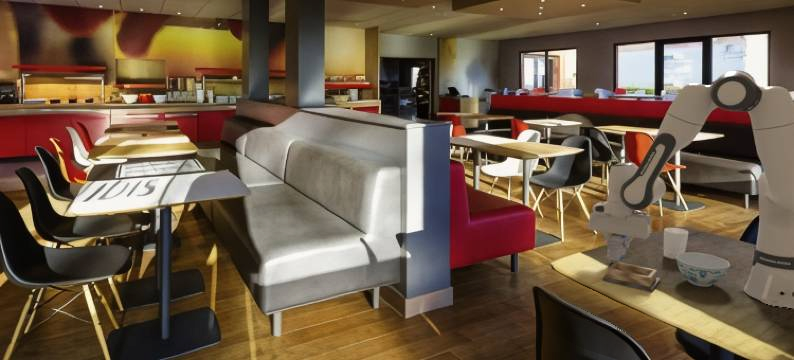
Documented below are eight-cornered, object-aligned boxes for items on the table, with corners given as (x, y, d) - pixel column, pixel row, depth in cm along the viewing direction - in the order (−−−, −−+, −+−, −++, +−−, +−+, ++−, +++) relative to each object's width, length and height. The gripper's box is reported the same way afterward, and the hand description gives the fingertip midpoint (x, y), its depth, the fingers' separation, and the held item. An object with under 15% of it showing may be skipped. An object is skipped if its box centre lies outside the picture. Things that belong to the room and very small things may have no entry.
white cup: (689, 260, 191) (692, 233, 189) (667, 260, 191) (670, 233, 189) (678, 252, 199) (681, 227, 197) (657, 252, 199) (660, 227, 197)
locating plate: (660, 281, 172) (661, 269, 171) (651, 291, 164) (653, 279, 163) (612, 270, 181) (613, 259, 180) (602, 280, 173) (603, 269, 172)
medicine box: (619, 262, 183) (621, 238, 181) (606, 259, 186) (608, 236, 184) (626, 256, 189) (627, 233, 187) (613, 253, 192) (614, 230, 190)
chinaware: (708, 273, 178) (710, 252, 177) (737, 291, 164) (741, 268, 162) (664, 274, 178) (667, 252, 176) (690, 292, 163) (693, 269, 162)
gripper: (654, 210, 180) (651, 249, 183) (593, 202, 192) (591, 238, 195) (649, 214, 175) (646, 254, 178) (587, 205, 188) (585, 243, 190)
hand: (617, 245), depth 187 cm, fingers closed on medicine box, 4 cm apart
